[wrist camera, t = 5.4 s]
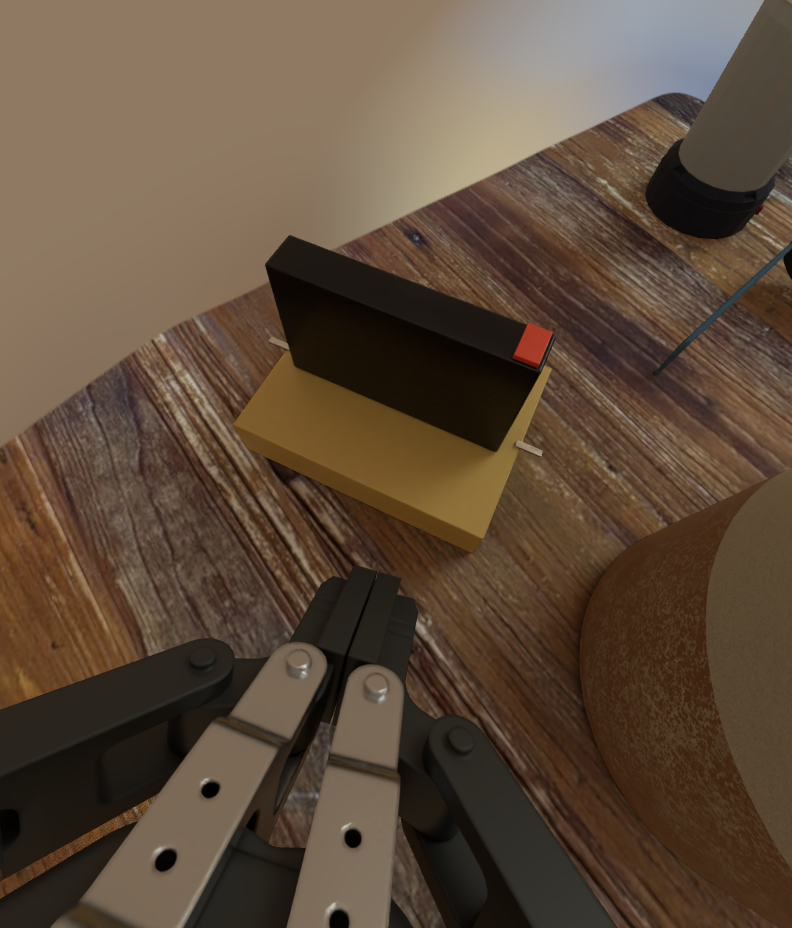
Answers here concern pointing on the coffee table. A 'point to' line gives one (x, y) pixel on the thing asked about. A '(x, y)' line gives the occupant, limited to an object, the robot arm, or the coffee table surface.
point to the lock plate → (383, 452)
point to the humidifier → (733, 136)
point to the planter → (704, 690)
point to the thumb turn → (405, 342)
